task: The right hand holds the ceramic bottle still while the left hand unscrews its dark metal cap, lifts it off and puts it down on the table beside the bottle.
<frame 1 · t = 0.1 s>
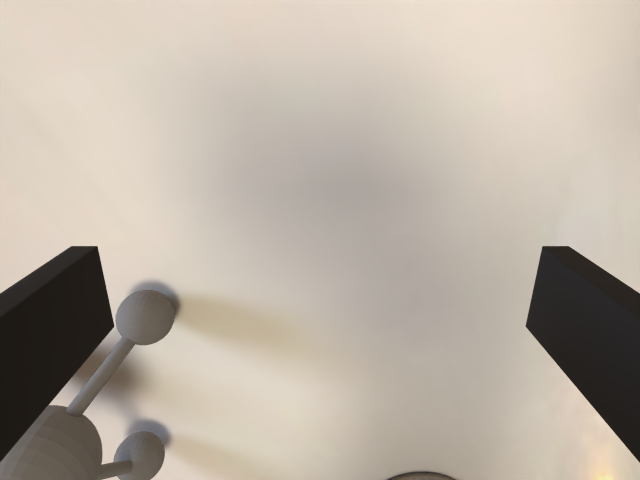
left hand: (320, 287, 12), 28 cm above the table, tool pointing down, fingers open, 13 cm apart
molecular model: (121, 353, 47), on the table
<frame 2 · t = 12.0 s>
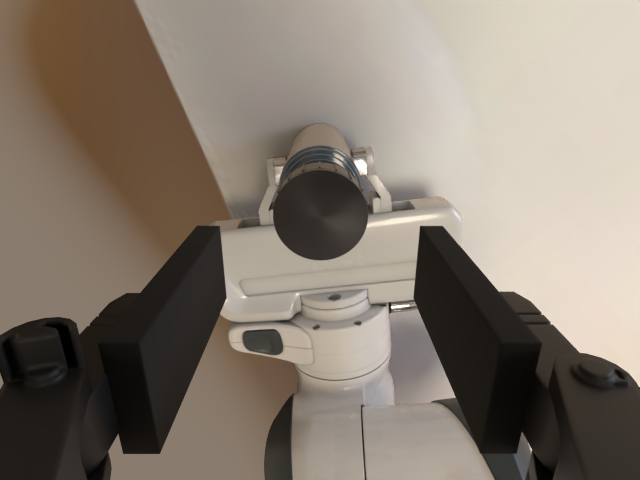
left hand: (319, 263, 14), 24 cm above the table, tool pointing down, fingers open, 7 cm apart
right hand: (318, 153, 30), fingers closed on bottle, 5 cm apart
bottle: (320, 151, 36), on the table, touching right hand
cap: (320, 215, 19), point 18 cm above the table, screwed on, not yet turned
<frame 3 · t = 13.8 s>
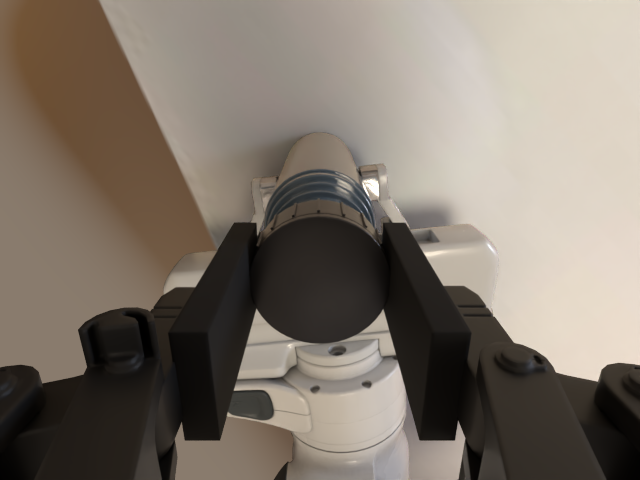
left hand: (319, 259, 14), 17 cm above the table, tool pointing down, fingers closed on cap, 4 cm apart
bottle: (319, 166, 30), on the table, touching right hand
cap: (320, 279, 13), point 18 cm above the table, screwed on, not yet turned, touching left hand
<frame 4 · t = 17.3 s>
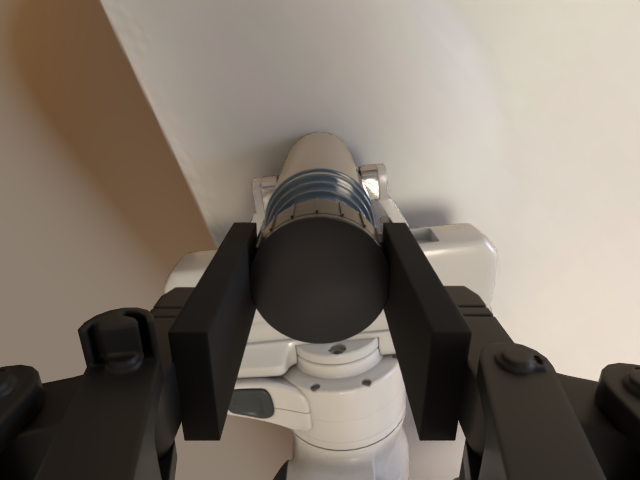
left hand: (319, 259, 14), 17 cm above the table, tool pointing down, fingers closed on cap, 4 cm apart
bottle: (319, 166, 30), on the table, touching right hand
cap: (320, 280, 13), point 18 cm above the table, turned 121° so far, risen 0.1 cm, still on its thread, touching left hand
when the left hand's fingers open (1 cm above the table, at t = 30.3 s): cap stays where it is, point 2 cm above the table.
when the right hand's fingers open (6 cm above the table, at t = 31.6 s): bottle stays where it is, on the table.
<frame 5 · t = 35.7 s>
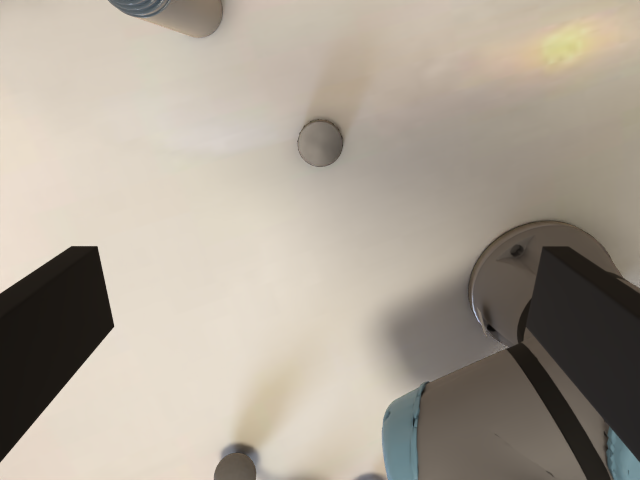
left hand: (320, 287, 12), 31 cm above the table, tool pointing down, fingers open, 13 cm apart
bottle: (195, 8, 37), on the table
cap: (320, 144, 40), point 2 cm above the table, off its thread
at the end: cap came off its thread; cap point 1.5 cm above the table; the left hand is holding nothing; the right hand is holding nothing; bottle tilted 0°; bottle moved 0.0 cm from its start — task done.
